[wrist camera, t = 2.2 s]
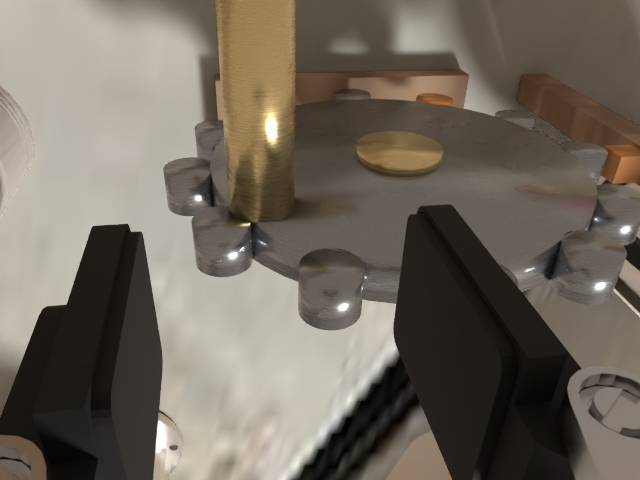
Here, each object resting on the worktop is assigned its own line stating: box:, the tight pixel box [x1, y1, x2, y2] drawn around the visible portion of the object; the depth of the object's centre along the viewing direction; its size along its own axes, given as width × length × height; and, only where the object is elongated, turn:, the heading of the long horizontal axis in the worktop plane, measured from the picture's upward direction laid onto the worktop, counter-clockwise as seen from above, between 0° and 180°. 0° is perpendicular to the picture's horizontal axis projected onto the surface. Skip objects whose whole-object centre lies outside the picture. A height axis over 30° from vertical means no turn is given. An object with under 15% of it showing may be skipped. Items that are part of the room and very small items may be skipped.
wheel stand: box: [215, 70, 640, 186], centre depth 36 cm, size 25×8×15 cm, turn 88°
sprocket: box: [164, 0, 640, 330], centre depth 27 cm, size 23×11×23 cm, turn 88°
